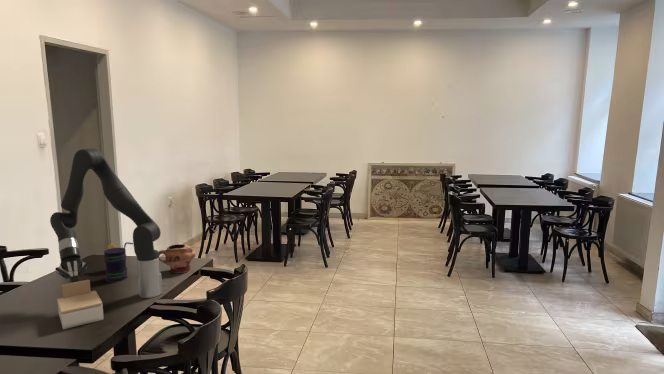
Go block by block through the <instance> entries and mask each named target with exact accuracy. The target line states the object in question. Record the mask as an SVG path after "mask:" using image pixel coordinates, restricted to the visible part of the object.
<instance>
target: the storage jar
mask: <svg viewBox="0 0 664 374" xmlns="http://www.w3.org/2000/svg"><path fill="white" fill-rule="evenodd" d="M125 249H126V247H125V248H124V247H116V248H112V249H105V250H104V251H103V253H104V256H103V258H104V263H105V271H104V272H105V278H106V282H108V283H118V281H119V282H122V281H125V280H127V279H128V267H127V262H126V261H127V253H126V252H125Z"/></svg>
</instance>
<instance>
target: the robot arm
mask: <svg viewBox="0 0 664 374" xmlns="http://www.w3.org/2000/svg"><path fill="white" fill-rule="evenodd" d="M71 163H72V164H71V170H70V175H69V179H68V184H67V186H66V187H67V188H66V190H65V193H64V195H63V198H62V201H61V203H60V206H61V209H64V210H65V211H68V212H61V211H60V212H59V211H57V212H54V213H52V214H51V215H50V217H49V218H50V219H49V223H50V226H51V228H52V230H53V231H54V232H55V234H56V236H57V237H56V238H57V243H58V253H59V258H60V264H59V266H58V267H55V269H54V270H55V273H56V274H58V275H59V276H61V277H63V279H66V280H68V279H69V281H70V283H73V282H78V281H80V279H79V277H82V276H83V274H84V273H85V272H86V270H87V269H88V268H89V262H84V261H83V259H82V258H81V252H80V246H79V243H78V240H77V235H76V231H75V230H74V228H75V226H76V225H77V224H78V216H79V215H78V213H79V207H80V204H81V202H82V199H83V197H84V180H85V176H86V174H87V172H88V171H90V170H92V171H93V172H94V173H95V174H96V176H97V177H98V179H99V180H100V182H101V185H102V190H103V195H104V196H105V198H106V199H107V201H108V202H109V203H110V204H111V206H112V207H113V208H114V209H115V210H116V211H118V212H119V213H120V214H122V215H124V216H126V217H127V218H129V219H130V220H131V221H132V222H134V224H135V225H136V227H135V228H134V229H133V232H132V243H133V244H132V245H133V251H134V255H135V256H136V263H137V265H136V266H137V278H138V279H137V280H138V293H139V294H138V295H139V297H140V298H144V299H151V298H155V297H158V296H159V295H162V294H163V281H162V273H161V269H160V268H161V267H160V260H159V258H160V256H159V251H158V250H157V249H155V247H154V242H156V241H157V240H159V239H160V237H161V229H160V226H159V225H158V223H156V222H155V220H153V218H151V217H150V215H149V214H148V213H147V212H146V211H145V210H144V209H143V207H142V206H141V205H140V204H139V202H138V201H137V200H136V199H135V197H134V196H133V195H132V193H131V192H130V191H129V190H128V188H127V187H126V185H124V183H123V182H122V181H121V179H120V178H119V176H118V175H116V173H115V172H114V171H113V169H112V167H111V165H110V164H109V162H108V161H107V159H106V157H105V155H103V153H102V152H101V151H100V150H99V149H96V148H82V149H78V150H77V151H76V152H75V153H74V156H73V158H72V162H71ZM80 268H81V269H80ZM78 270H79V272H78Z"/></svg>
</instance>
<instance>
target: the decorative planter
mask: <svg viewBox="0 0 664 374" xmlns="http://www.w3.org/2000/svg"><path fill="white" fill-rule="evenodd" d="M158 252H159V262H161V263H163V264H165V265H166V266H169V267H170V272H171V273H173V274H183V273H186V272H187V273H188V272H189V271H190V269H191V262H192V261H193V260H194V259H195V258H196V255H197V254H196V252H195V251H193V247H192V246H191V245H188V244H180V243H179V244H171V245H169V246H167V247H166V249H161V250H159V251H158ZM161 254H162V255H164V256H165V260H162V259H161V258H160V256H161Z"/></svg>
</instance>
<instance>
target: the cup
mask: <svg viewBox="0 0 664 374" xmlns="http://www.w3.org/2000/svg"><path fill="white" fill-rule="evenodd" d="M127 245H134V244H133V242H128V241H126V242H125V243H124V246H123V248H125V252H126V247H127ZM112 248H117V247H116V245H115V244H114V243H110V244H108V245H107V249H106V250H108V249H112Z"/></svg>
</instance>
